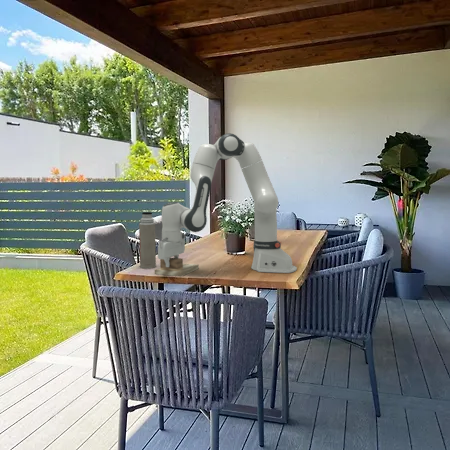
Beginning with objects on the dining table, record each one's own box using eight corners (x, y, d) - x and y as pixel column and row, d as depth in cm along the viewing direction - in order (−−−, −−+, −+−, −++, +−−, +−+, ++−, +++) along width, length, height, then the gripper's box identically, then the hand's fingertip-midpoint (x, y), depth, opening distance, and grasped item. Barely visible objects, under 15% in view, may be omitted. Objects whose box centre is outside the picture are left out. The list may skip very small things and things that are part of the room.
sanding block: (182, 268, 215) (182, 258, 215) (177, 271, 210) (177, 260, 210) (166, 267, 218) (166, 257, 218) (160, 269, 213) (160, 259, 213)
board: (198, 268, 226) (198, 264, 225) (181, 276, 208) (180, 272, 208) (173, 266, 231) (173, 262, 231) (154, 274, 213) (154, 269, 213)
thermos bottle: (138, 268, 226) (137, 212, 223) (141, 265, 234) (140, 211, 231) (154, 268, 226) (153, 212, 223) (157, 265, 234) (156, 211, 231)
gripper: (166, 239, 202) (166, 270, 203) (186, 234, 221) (187, 262, 222) (154, 239, 204) (154, 269, 206) (175, 233, 223) (175, 261, 224)
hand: (171, 265), depth 214 cm, fingers open, 6 cm apart
